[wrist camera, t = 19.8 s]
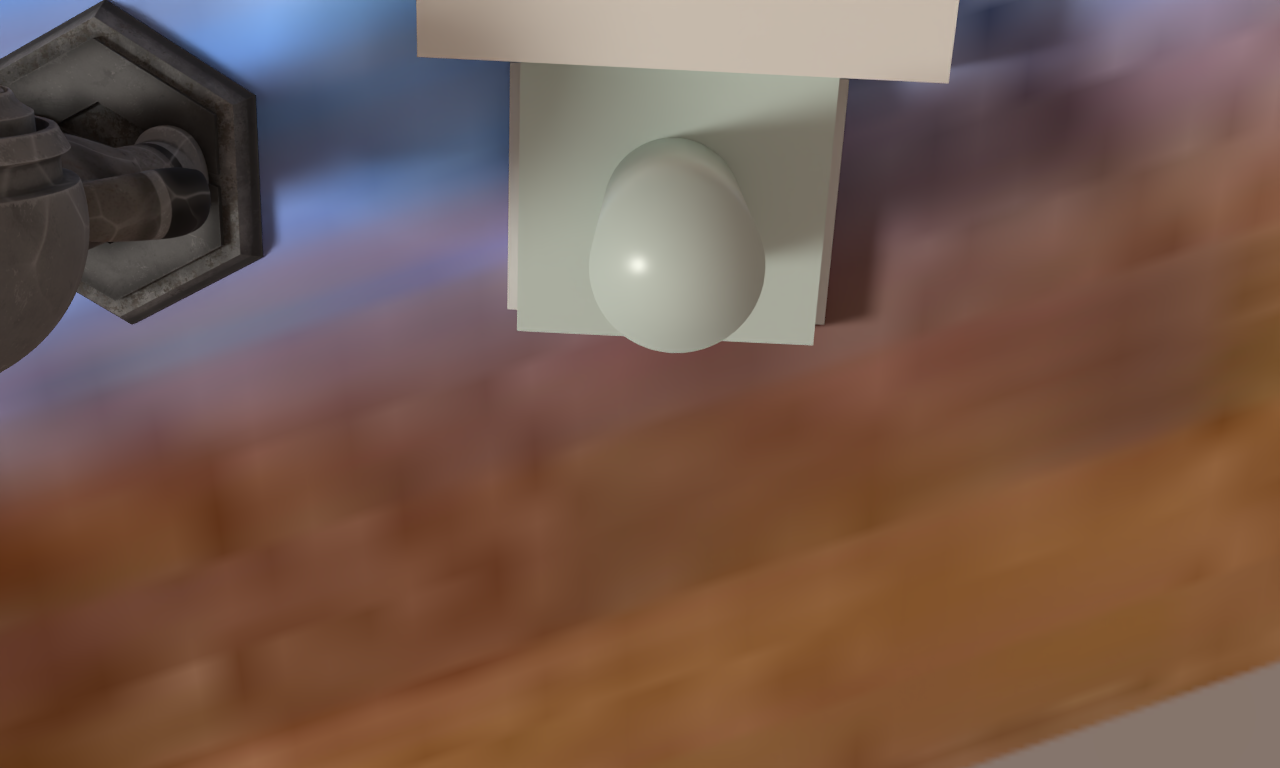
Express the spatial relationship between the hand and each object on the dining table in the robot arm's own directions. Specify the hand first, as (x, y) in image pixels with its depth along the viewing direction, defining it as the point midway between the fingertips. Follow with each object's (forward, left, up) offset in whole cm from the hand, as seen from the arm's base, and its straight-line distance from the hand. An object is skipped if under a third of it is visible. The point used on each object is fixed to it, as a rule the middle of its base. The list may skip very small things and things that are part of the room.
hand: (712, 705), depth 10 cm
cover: (0, 0, -26) cm, 26 cm away
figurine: (0, -17, -27) cm, 32 cm away
